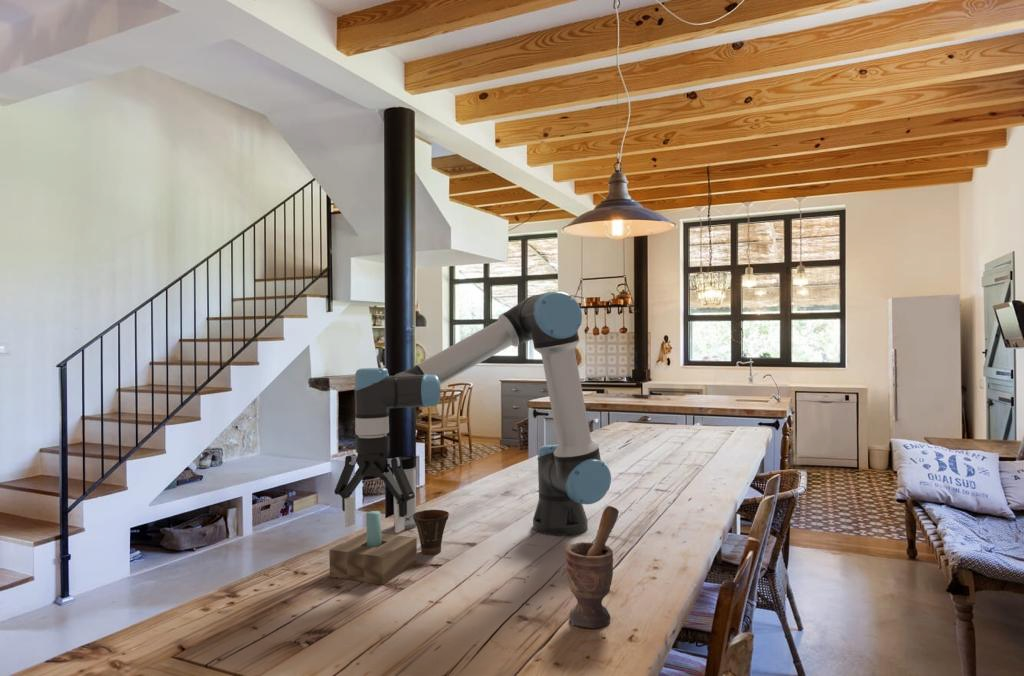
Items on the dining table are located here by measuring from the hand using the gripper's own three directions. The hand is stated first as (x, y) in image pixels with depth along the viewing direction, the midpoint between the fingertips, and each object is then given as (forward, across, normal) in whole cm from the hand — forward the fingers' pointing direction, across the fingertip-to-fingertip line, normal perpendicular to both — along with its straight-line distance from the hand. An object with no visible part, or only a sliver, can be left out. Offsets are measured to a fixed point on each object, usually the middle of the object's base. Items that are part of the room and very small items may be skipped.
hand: (374, 528), depth 143 cm
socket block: (+9, 0, 0) cm, 10 cm away
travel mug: (+10, +12, -32) cm, 35 cm away
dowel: (+8, 0, 0) cm, 8 cm away
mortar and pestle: (+10, -53, +7) cm, 55 cm away
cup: (+10, -6, -15) cm, 19 cm away
